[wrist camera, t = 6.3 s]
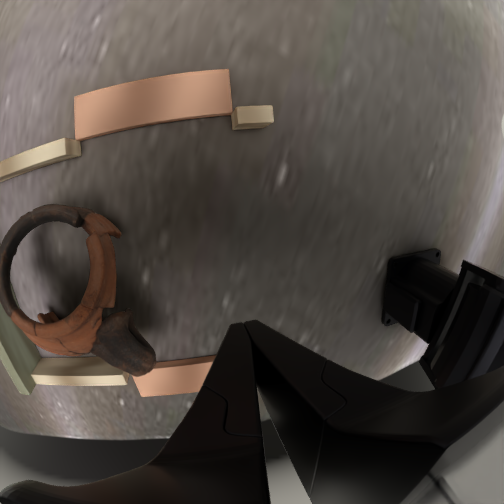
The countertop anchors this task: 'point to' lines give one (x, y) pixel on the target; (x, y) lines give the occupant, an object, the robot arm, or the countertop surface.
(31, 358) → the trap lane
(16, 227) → the pottery mug
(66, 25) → the countertop surface
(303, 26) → the countertop surface
